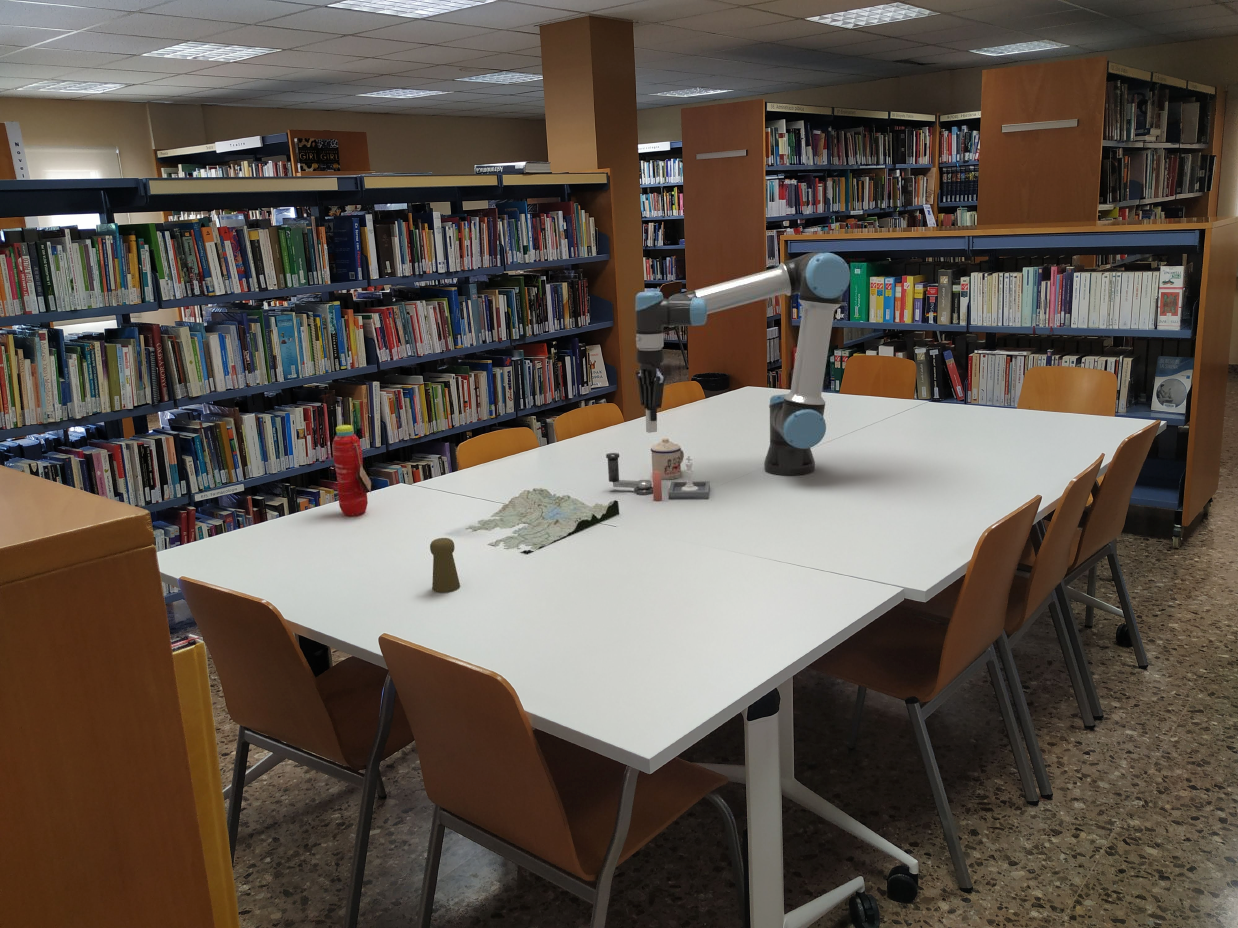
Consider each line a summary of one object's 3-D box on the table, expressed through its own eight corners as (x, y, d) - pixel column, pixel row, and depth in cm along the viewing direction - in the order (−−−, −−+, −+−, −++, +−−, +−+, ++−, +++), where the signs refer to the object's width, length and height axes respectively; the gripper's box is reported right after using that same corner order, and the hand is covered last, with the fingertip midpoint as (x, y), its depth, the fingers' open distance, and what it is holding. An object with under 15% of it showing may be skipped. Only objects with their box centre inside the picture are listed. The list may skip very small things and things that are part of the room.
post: (662, 498, 259) (661, 470, 257) (661, 500, 257) (660, 473, 255) (653, 498, 260) (652, 470, 258) (653, 501, 257) (651, 473, 255)
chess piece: (686, 487, 266) (685, 453, 263) (701, 489, 263) (701, 455, 261) (677, 491, 262) (676, 457, 259) (692, 494, 259) (691, 459, 257)
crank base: (655, 488, 269) (655, 485, 268) (653, 494, 263) (653, 491, 263) (635, 489, 270) (635, 485, 269) (632, 495, 264) (632, 491, 264)
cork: (433, 583, 205) (428, 536, 202) (461, 581, 205) (456, 533, 202) (430, 593, 199) (425, 545, 196) (459, 591, 199) (454, 543, 197)
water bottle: (383, 513, 258) (373, 425, 252) (359, 521, 252) (348, 431, 246) (356, 506, 265) (346, 421, 259) (333, 514, 259) (321, 426, 253)
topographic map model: (527, 556, 220) (526, 536, 219) (443, 536, 238) (441, 517, 237) (619, 516, 247) (618, 498, 246) (538, 500, 265) (536, 483, 264)
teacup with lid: (667, 481, 276) (665, 443, 273) (645, 476, 282) (643, 439, 279) (694, 473, 283) (693, 435, 281) (672, 468, 290) (671, 432, 287)
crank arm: (653, 485, 267) (652, 453, 265) (649, 489, 263) (648, 457, 261) (610, 483, 271) (608, 452, 269) (605, 487, 267) (603, 456, 265)
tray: (709, 487, 267) (709, 481, 267) (708, 499, 257) (708, 492, 256) (671, 488, 269) (671, 481, 268) (668, 499, 258) (668, 492, 258)
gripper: (626, 347, 262) (628, 429, 267) (649, 352, 250) (651, 437, 256) (649, 345, 265) (651, 426, 271) (673, 349, 254) (674, 434, 260)
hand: (651, 431), depth 264 cm, fingers closed
